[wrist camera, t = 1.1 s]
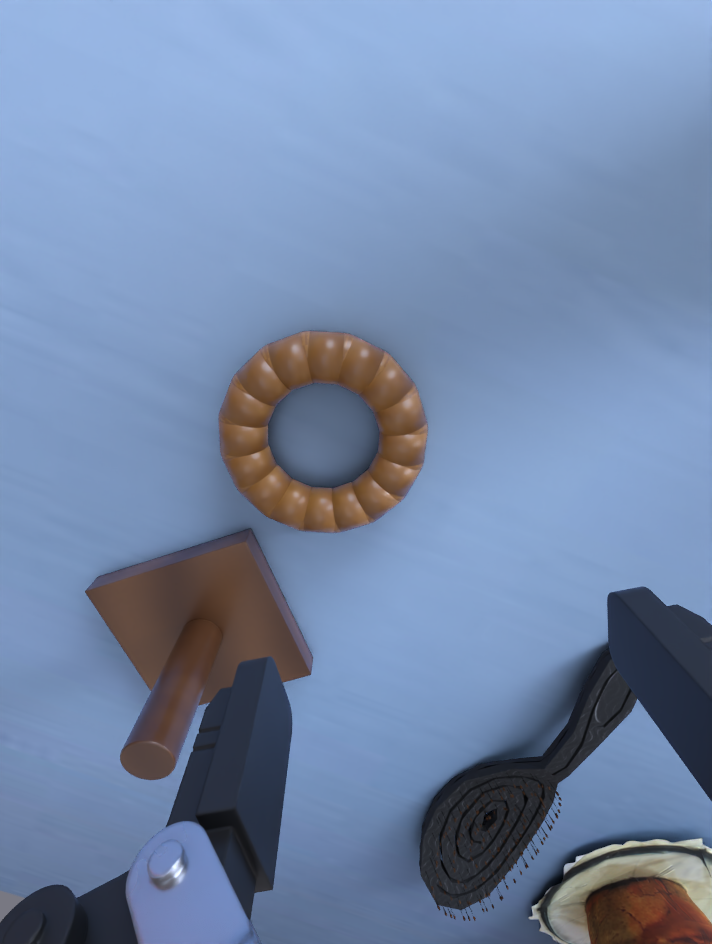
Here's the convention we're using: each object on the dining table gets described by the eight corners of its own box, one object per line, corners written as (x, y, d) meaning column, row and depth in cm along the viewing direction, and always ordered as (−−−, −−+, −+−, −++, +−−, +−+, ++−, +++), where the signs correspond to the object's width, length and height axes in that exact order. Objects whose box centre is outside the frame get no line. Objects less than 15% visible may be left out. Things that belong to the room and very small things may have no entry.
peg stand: (251, 528, 27) (200, 645, 18) (313, 657, 30) (296, 808, 22) (97, 576, 28) (-21, 709, 19) (174, 695, 32) (104, 854, 23)
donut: (388, 298, 22) (392, 300, 20) (445, 487, 26) (454, 506, 24) (192, 370, 24) (175, 379, 21) (272, 541, 27) (264, 564, 25)
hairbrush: (716, 693, 28) (497, 936, 35) (675, 651, 31) (483, 880, 38) (603, 644, 27) (398, 907, 34) (573, 606, 30) (393, 851, 37)
